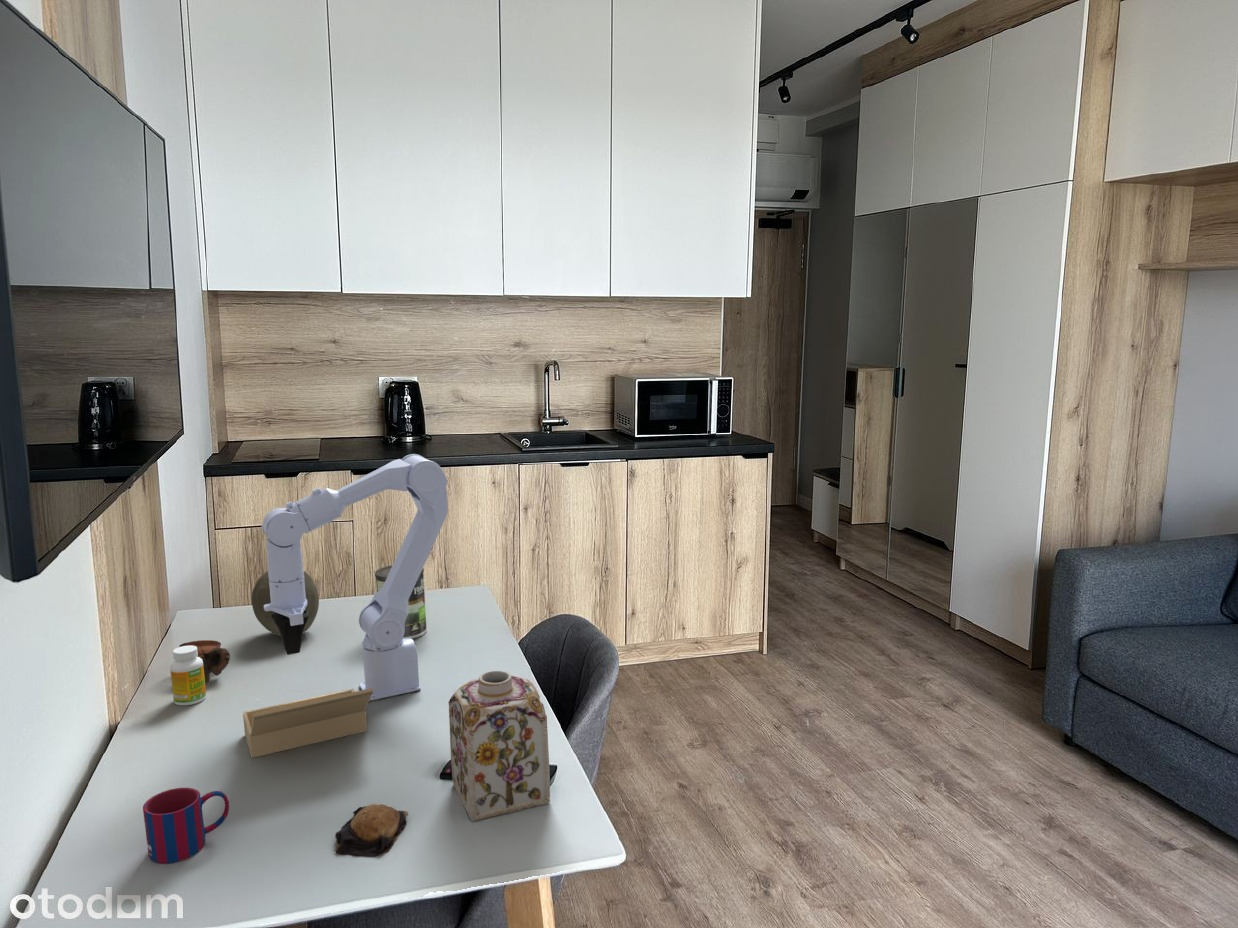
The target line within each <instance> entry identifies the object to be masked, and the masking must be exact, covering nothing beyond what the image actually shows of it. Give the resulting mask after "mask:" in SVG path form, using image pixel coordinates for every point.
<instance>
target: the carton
mask: <svg viewBox="0 0 1238 928" xmlns="http://www.w3.org/2000/svg"><path fill="white" fill-rule="evenodd" d="M352 692H356V690H355V689H354V688H351V689H346V690H342V691H336V692H332V693H328V694H323V695H318V696H314V697H313V696H312V697H308V698H303V699H299V700H295V701H290V702H285V703H281V704H275V705H270V706H266V707H265V706H264V707H261V708H257V709H252V710H247V711H243V712H242V718H243V728H244V737H245V740H246V743H247V746H248V750H249V753H250V756H251V759H253V758H257V757H261V756H265V755H270V754H275V753H278V752H282V751H287V750H291V749H295V748H299V747H303V746H309V745H312V744H316V743H320V742H325V741H329V740H334V739H339V738H343V737H347V736H350V735H355V734H358V733H364V732H367V731H368V725H367V708H366V709H365V711H362V712H357V713H353V714H349V715H344V716H340V717H335V718H331V719H326V720H322V721H317V722H313V723H309V724H304V725H300V726H295V727H291V728H286V729H282V730H278V731H273V732H269V733H264V734H260V735H255V736H251V729H252V721H253V714H254V713H259V712H263V711H268V710H273V709H277V708H282V707H287V706H291V705H296V704H301V703H305V702H310V701H315V700H319V699H324V698H329V697H333V696H338V695H343V694H347V693H352Z"/></svg>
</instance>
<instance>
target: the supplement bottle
mask: <svg viewBox="0 0 1238 928" xmlns="http://www.w3.org/2000/svg"><path fill="white" fill-rule="evenodd" d="M197 655H198V651H197V647H196V646H191V645H189V646H182V647H179V646H178V647H177V648H174V649H173V651H172V658H173V660H174V661H173V662H171V664H170V667H169V668H170V669H169V671H170V678H171V686H172V687H171V689H172V698H173V703H174V704H175V705H177V706H181V707H182V706H183V707H184V706H192V705H196V704H199V703H201V702H202V701H204V700H205V699H206V697H207V688H206V683H205V676H204V667H203V660H202V659H201V658H200V657H197Z"/></svg>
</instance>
